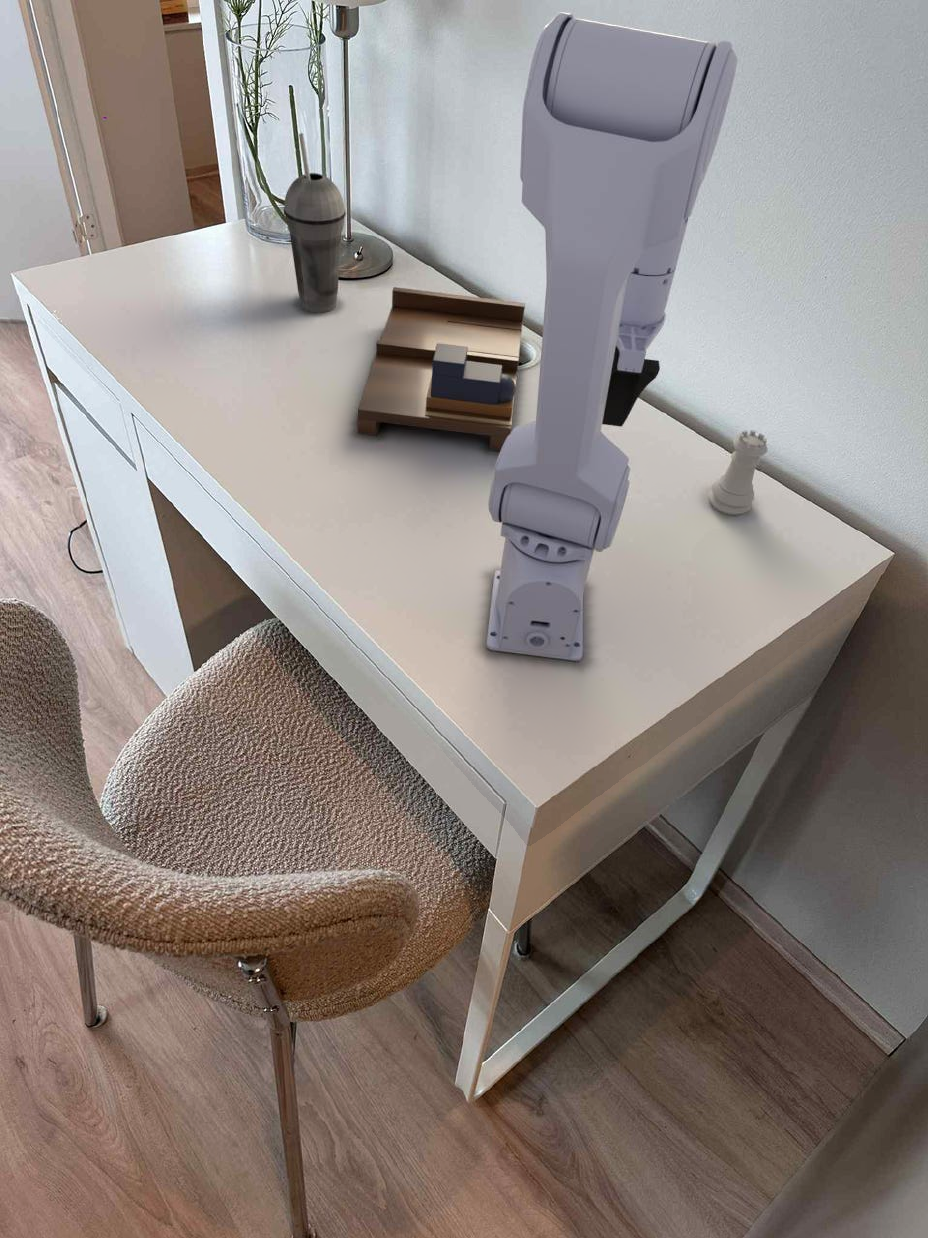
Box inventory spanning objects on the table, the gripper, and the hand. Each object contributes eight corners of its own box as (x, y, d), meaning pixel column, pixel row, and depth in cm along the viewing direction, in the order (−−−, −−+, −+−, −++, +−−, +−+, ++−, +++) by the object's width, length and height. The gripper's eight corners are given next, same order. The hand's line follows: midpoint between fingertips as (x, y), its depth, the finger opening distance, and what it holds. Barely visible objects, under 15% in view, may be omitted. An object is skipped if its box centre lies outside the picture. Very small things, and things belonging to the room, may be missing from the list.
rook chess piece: (698, 493, 91) (721, 427, 85) (735, 486, 92) (759, 421, 87) (722, 520, 88) (746, 454, 83) (759, 513, 90) (786, 447, 84)
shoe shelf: (507, 452, 93) (513, 411, 90) (357, 433, 94) (357, 392, 90) (520, 340, 110) (525, 302, 107) (392, 325, 110) (393, 286, 107)
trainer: (514, 397, 95) (520, 351, 92) (512, 417, 93) (518, 371, 89) (430, 387, 96) (433, 341, 92) (426, 407, 93) (428, 360, 89)
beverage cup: (354, 314, 111) (352, 143, 97) (297, 320, 109) (287, 146, 95) (338, 288, 116) (334, 120, 102) (283, 293, 114) (271, 123, 99)
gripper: (595, 220, 80) (570, 357, 90) (595, 294, 70) (567, 438, 79) (672, 230, 80) (639, 365, 90) (684, 305, 70) (645, 448, 79)
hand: (610, 400), depth 85 cm, fingers open, 7 cm apart
